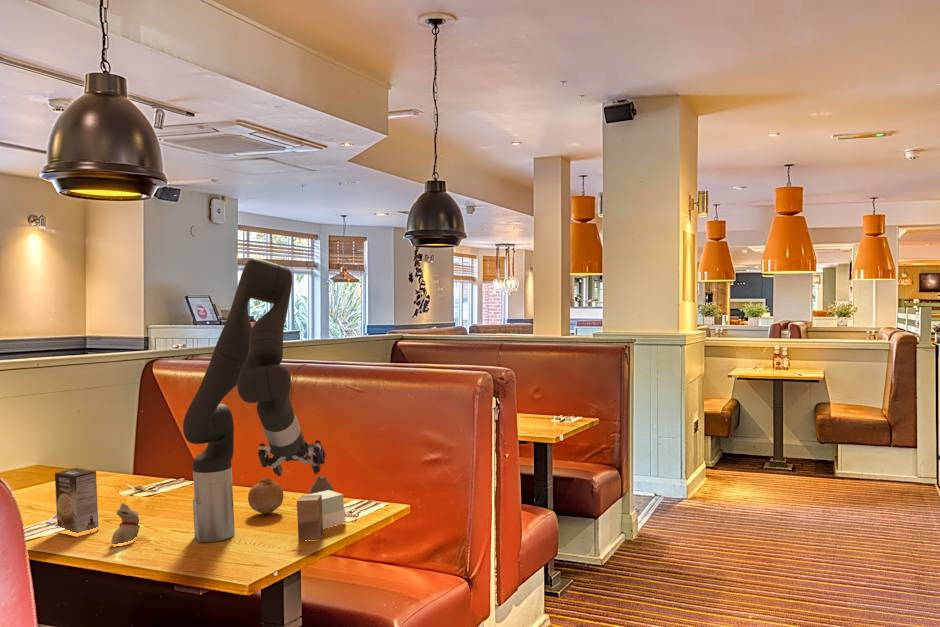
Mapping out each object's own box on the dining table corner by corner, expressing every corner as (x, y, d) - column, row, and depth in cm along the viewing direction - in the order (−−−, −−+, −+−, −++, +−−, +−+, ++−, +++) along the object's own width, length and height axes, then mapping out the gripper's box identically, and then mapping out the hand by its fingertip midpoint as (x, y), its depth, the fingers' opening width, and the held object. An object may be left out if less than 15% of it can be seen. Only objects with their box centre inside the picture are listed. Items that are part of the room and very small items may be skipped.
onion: (291, 512, 218) (289, 476, 218) (265, 521, 210) (263, 483, 210) (267, 507, 223) (266, 472, 223) (241, 516, 215) (239, 480, 215)
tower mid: (320, 515, 200) (319, 499, 200) (306, 510, 205) (305, 495, 205) (343, 509, 204) (343, 494, 204) (329, 504, 210) (328, 489, 210)
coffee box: (56, 533, 206) (53, 472, 205) (79, 526, 211) (76, 467, 211) (77, 538, 201) (74, 475, 201) (100, 531, 207) (97, 470, 206)
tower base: (322, 531, 200) (321, 515, 200) (307, 525, 205) (306, 510, 205) (345, 524, 205) (344, 509, 205) (330, 519, 210) (329, 504, 210)
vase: (329, 511, 217) (328, 479, 217) (306, 511, 218) (304, 479, 218) (338, 504, 224) (337, 474, 223) (316, 504, 225) (314, 473, 225)
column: (318, 540, 191) (317, 500, 191) (298, 541, 191) (296, 500, 191) (323, 534, 196) (321, 494, 196) (303, 535, 196) (301, 495, 196)
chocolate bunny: (146, 540, 197) (144, 501, 196) (113, 548, 191) (111, 507, 191) (137, 536, 201) (135, 497, 200) (105, 544, 195) (103, 504, 195)
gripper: (317, 415, 173) (330, 456, 185) (253, 418, 174) (270, 459, 185) (313, 443, 168) (327, 484, 180) (247, 447, 168) (265, 487, 180)
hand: (298, 471), depth 183 cm, fingers open, 8 cm apart
